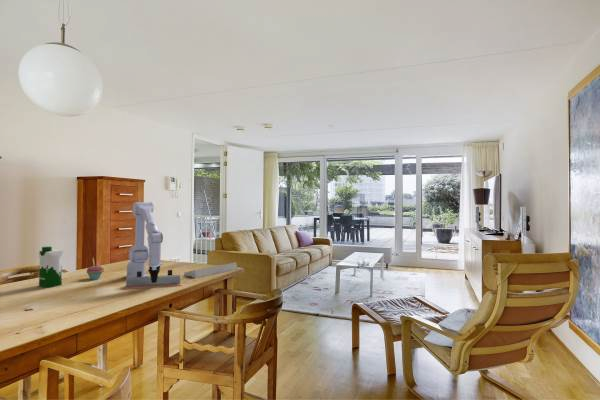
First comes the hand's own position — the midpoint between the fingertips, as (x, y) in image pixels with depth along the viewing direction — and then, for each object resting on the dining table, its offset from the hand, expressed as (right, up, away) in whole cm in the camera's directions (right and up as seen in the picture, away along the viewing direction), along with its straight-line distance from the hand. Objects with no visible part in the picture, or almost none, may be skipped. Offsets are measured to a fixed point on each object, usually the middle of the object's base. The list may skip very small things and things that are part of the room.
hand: (154, 281), depth 184 cm
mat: (0, -2, 0) cm, 2 cm away
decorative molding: (+21, -3, +36) cm, 42 cm away
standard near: (-11, -2, +6) cm, 13 cm away
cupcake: (-38, -2, +12) cm, 40 cm away
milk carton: (-51, -1, -5) cm, 51 cm away
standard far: (+4, -2, +12) cm, 13 cm away
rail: (0, -2, 0) cm, 2 cm away
